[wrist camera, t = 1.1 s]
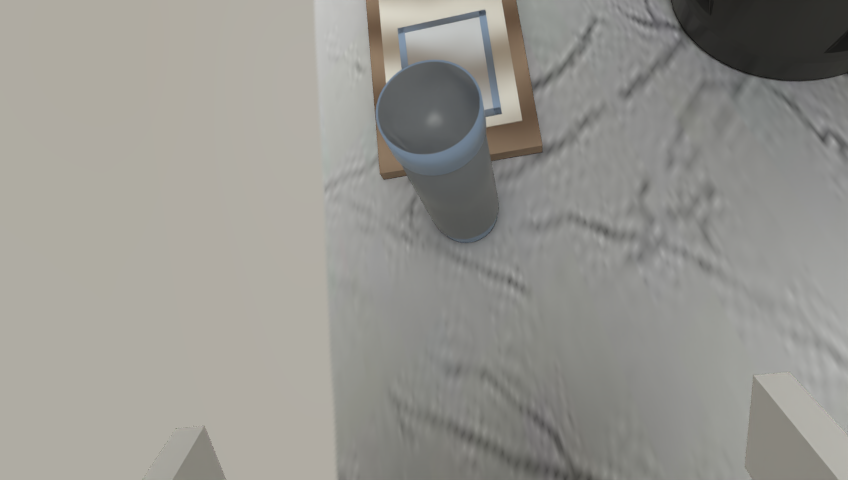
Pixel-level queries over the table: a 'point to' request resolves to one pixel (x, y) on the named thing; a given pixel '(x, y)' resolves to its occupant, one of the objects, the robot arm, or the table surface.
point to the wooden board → (459, 63)
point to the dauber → (442, 145)
